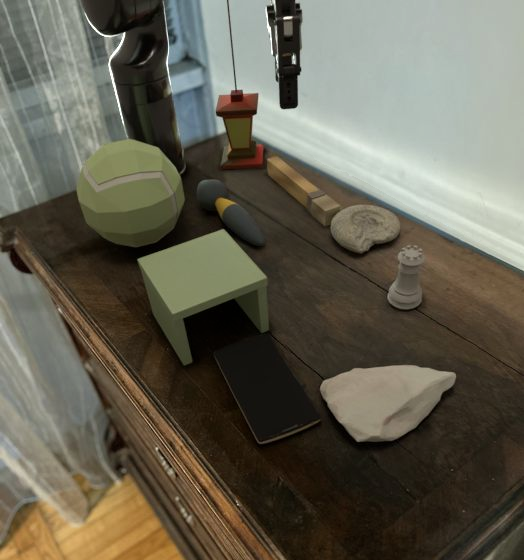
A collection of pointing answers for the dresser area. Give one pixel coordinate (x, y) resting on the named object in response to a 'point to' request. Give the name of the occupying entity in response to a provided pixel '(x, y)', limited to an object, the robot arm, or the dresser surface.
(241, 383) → the smartphone
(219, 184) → the paintbrush
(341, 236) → the fossil
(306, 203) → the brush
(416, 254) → the rook chess piece
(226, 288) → the shelf
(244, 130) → the light fixture
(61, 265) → the dresser surface
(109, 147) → the decorative sphere
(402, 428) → the stone
